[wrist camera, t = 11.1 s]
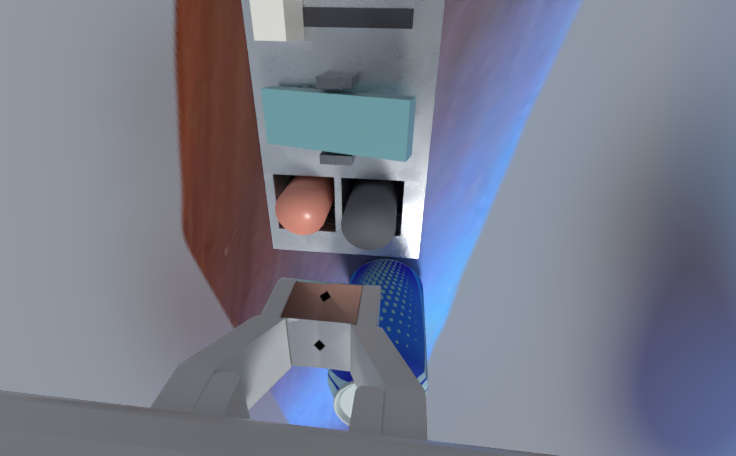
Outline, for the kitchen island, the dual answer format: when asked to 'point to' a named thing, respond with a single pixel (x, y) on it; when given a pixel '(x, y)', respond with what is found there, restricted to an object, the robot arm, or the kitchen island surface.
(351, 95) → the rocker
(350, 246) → the switch box
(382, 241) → the black button
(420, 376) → the beer can
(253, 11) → the slider knob
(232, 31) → the kitchen island surface
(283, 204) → the pink rounded cylinder
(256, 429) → the robot arm
